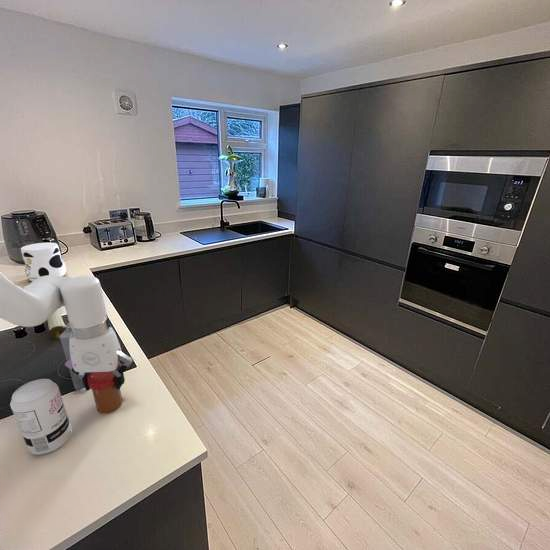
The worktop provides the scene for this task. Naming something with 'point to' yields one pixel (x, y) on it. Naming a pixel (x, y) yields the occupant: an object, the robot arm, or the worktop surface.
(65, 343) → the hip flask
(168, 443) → the worktop surface
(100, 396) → the jam jar
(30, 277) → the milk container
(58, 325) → the rolling pin
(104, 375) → the jam lid
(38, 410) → the supplement can
